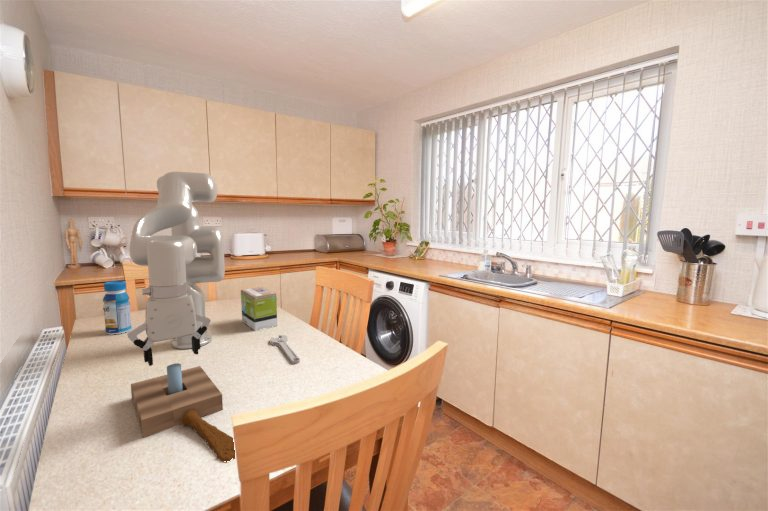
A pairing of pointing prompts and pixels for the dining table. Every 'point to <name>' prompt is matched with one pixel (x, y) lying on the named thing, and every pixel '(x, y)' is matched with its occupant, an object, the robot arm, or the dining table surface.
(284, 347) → the adjustable wrench
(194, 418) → the primitive tool
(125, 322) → the blue-capped supplement jar
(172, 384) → the peg
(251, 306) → the tea box
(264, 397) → the dining table surface
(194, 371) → the hole block
